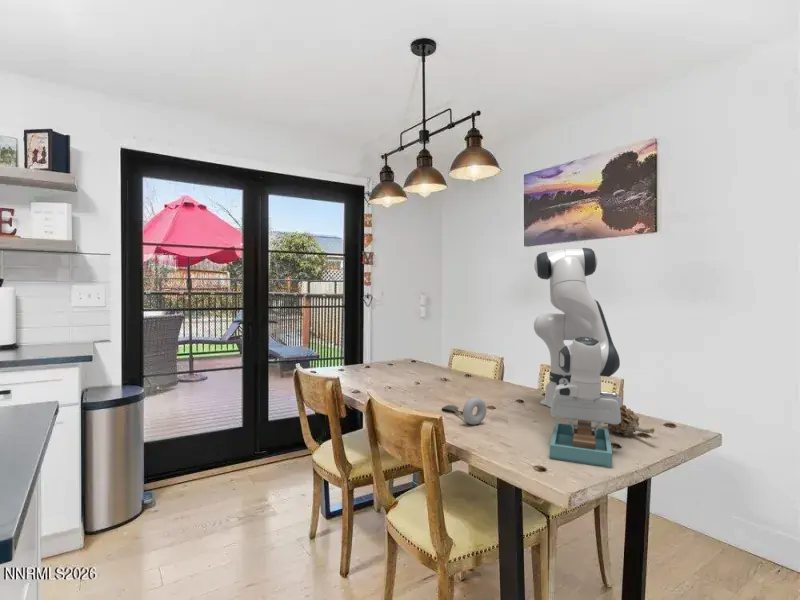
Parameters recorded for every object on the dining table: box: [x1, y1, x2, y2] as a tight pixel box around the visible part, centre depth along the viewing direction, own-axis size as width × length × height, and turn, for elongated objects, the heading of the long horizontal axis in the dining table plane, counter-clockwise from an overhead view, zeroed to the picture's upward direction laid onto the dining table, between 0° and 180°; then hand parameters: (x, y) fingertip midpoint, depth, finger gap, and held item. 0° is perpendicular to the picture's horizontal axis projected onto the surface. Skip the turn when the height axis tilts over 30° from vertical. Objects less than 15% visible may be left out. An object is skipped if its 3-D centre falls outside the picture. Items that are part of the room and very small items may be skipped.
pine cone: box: [603, 403, 656, 437], centre depth 152 cm, size 22×10×10 cm, turn 21°
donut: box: [462, 396, 488, 426], centre depth 163 cm, size 10×4×10 cm, turn 120°
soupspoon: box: [441, 404, 470, 425], centre depth 174 cm, size 22×3×7 cm
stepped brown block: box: [573, 420, 596, 450], centre depth 138 cm, size 17×6×5 cm, turn 158°
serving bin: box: [549, 421, 613, 468], centre depth 139 cm, size 24×16×4 cm
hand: (584, 434), depth 140 cm, fingers closed on stepped brown block, 4 cm apart
